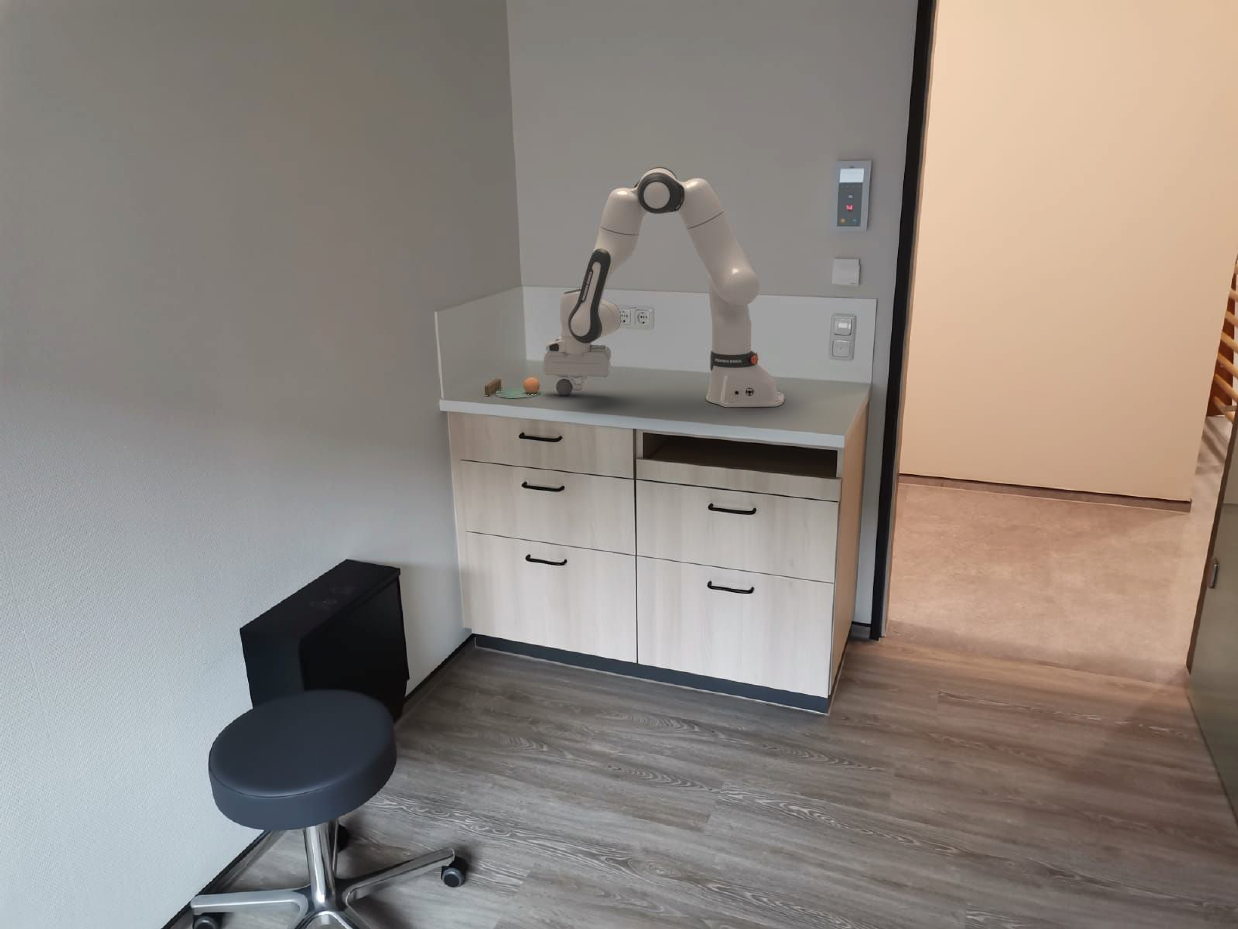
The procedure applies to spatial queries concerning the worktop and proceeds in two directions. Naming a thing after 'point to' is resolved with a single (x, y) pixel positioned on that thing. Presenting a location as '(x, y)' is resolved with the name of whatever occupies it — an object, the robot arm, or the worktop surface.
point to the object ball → (531, 385)
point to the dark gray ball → (564, 387)
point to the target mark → (510, 393)
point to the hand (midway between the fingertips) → (577, 390)
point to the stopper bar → (493, 387)
